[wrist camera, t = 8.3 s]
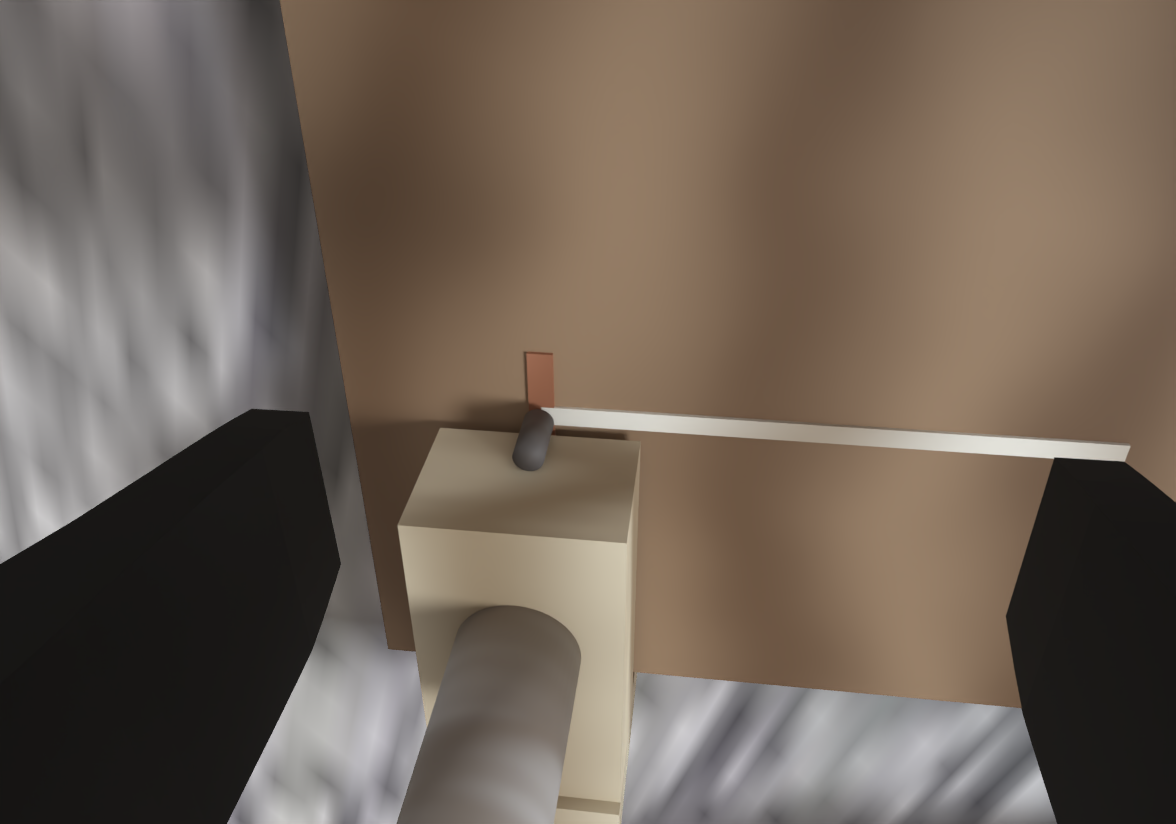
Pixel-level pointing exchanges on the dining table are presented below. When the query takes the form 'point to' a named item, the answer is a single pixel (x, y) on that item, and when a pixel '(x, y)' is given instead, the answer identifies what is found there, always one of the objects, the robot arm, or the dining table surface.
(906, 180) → the board
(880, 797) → the dining table surface
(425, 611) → the cream block
